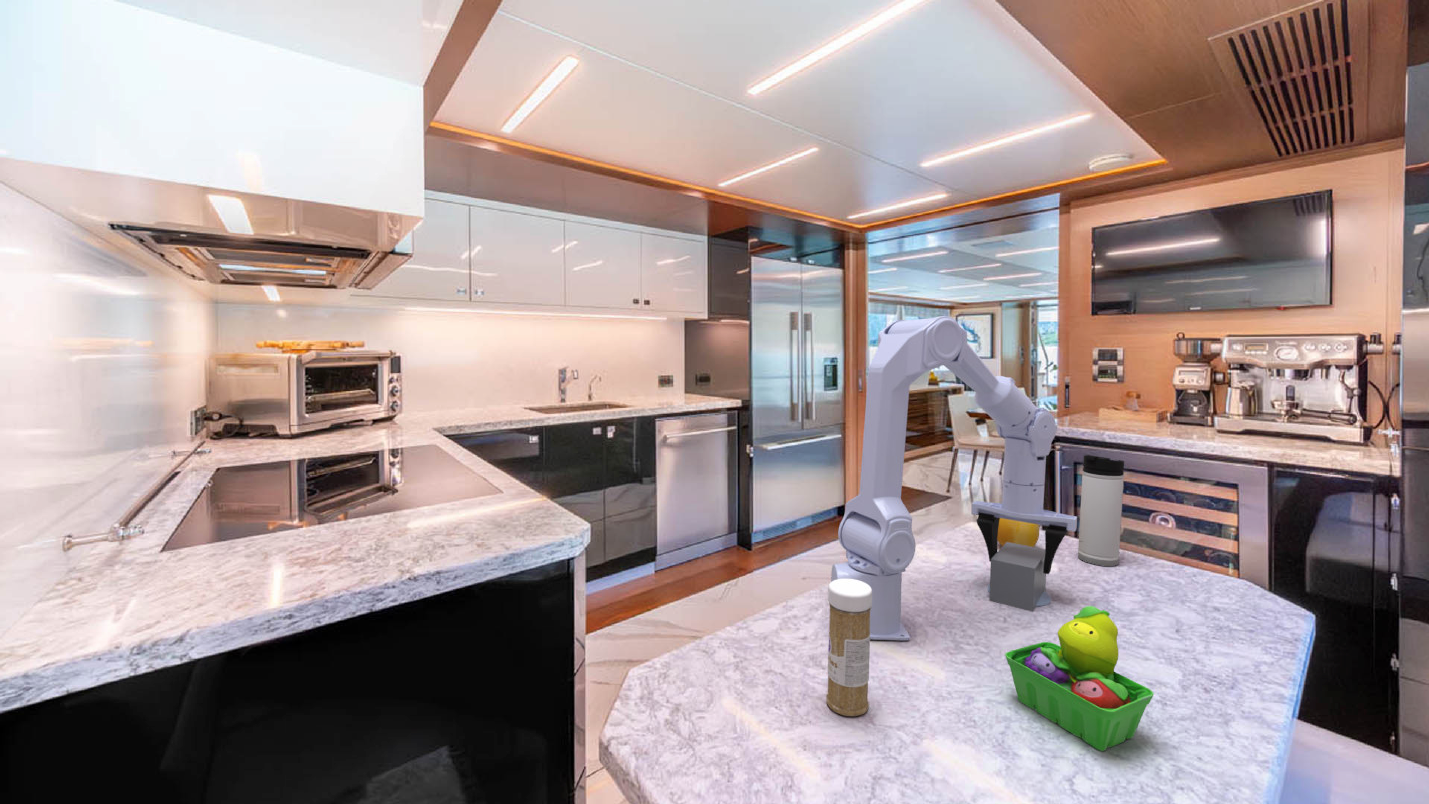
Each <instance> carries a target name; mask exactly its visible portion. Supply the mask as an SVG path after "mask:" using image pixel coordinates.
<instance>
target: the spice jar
mask: <svg viewBox="0 0 1429 804" xmlns="http://www.w3.org/2000/svg"><path fill="white" fill-rule="evenodd" d="M827 590H828V591H827V592H828V593H827V601H828V604H829V627H828V629H829V631H828V652H827V653H828V655H827V657H828V658H827V675H828V676H827V694H826V703H827V706H828V707H829V708H830V710H832V711H833V712H835V713H836V714H840V715H841V716H847V717H857V716H862V715H863V714H866V712H868V709H869V706H870V704H869V699H868V695H869V693H868V691H869V678H870V654H871V653H870V650H871V649H870V648H871V639H870V610H871V606H872V589H871V587H870V586H869V585H868V584H866V583H864V582H862V581H859V580H855V579H837V580H834V581H832V582H831V581H830V582H829V584H828V589H827Z"/></svg>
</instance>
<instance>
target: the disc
mask: <svg viewBox="0 0 1429 804" xmlns="http://www.w3.org/2000/svg"><path fill="white" fill-rule="evenodd" d="M986 590H987V592H988V593H990V583H989V584H988V585H987V587H986ZM1051 602H1052V597H1051V595H1050V594H1049V593H1048V592H1046V591H1043V593H1042V595H1041V597H1040V599H1039V600H1038V602H1037V604H1036V607H1044V606H1047V605H1050V604H1051Z"/></svg>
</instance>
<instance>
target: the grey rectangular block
mask: <svg viewBox="0 0 1429 804" xmlns="http://www.w3.org/2000/svg"><path fill="white" fill-rule="evenodd" d="M1001 546H1002V545H1001ZM1044 559H1045V548H1040V547H1035V546H1034V547H1031V546H1025V545H1020V544H1015V543H1010V542H1006V543H1005V544H1004V545H1003V546H1002V547H1001V548H999V550H997V553H996V554H995V555H994V556H993V557H992V559H991V562H990V572H989V576H990V577H989V584H990V593H989V592H988V593H989V595H988V597H989V599H988V600H989V601H990V602H994V603H997V604H1002V605H1006V606H1008V607H1009V606H1010V607H1013V608H1018V609H1021V610H1024V611H1029V612H1034V610H1035V609H1036V607H1037V606H1036V604H1037V602H1038V600H1039V599H1040V597H1041V595H1042V593H1043V591H1045V590H1047V589H1046V584H1047V574H1045V573H1043V567H1044ZM1045 592H1046V591H1045Z"/></svg>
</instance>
